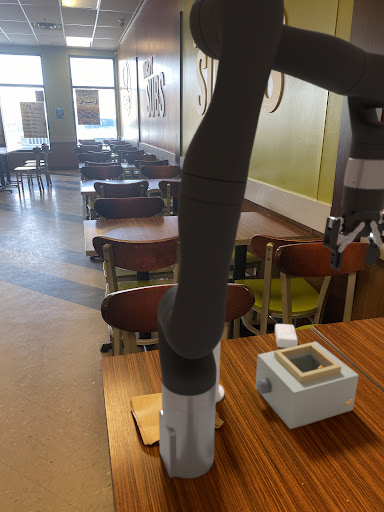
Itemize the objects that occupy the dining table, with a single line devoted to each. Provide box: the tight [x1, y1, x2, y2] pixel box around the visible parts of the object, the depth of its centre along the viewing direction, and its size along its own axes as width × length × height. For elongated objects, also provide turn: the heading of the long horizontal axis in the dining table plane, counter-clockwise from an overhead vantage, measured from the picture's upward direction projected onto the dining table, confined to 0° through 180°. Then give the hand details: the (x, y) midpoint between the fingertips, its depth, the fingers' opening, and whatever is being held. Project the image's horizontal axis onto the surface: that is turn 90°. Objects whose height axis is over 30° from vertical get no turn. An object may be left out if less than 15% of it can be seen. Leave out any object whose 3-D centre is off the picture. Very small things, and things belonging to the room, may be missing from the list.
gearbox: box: [254, 341, 360, 430], centre depth 87 cm, size 18×14×10 cm
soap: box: [274, 323, 299, 349], centre depth 112 cm, size 9×6×3 cm, turn 174°
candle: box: [213, 338, 225, 404], centre depth 86 cm, size 7×7×25 cm
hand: (353, 266), depth 78 cm, fingers open, 8 cm apart
